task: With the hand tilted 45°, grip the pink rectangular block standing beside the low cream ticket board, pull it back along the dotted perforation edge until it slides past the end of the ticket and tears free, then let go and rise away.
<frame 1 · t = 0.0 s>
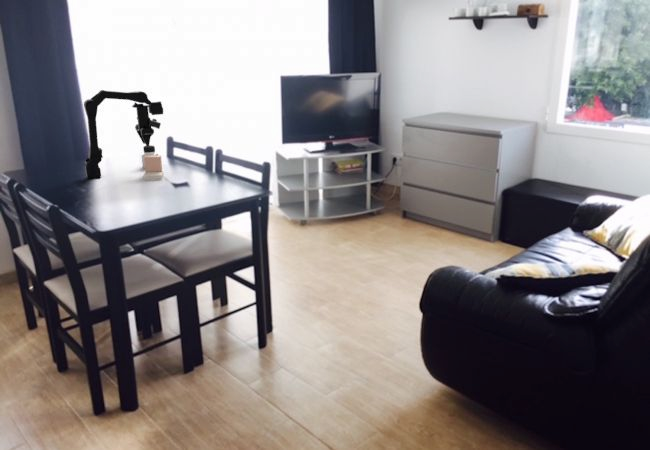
hand: (146, 144, 302), 15 cm above the table, tool pointing down, fingers open, 9 cm apart
ticket board: (153, 178, 292), on the table
pink rectangular block: (153, 165, 296), point 5 cm above the table, slide at 0.0 cm
medicine bottle: (151, 167, 318), on the table
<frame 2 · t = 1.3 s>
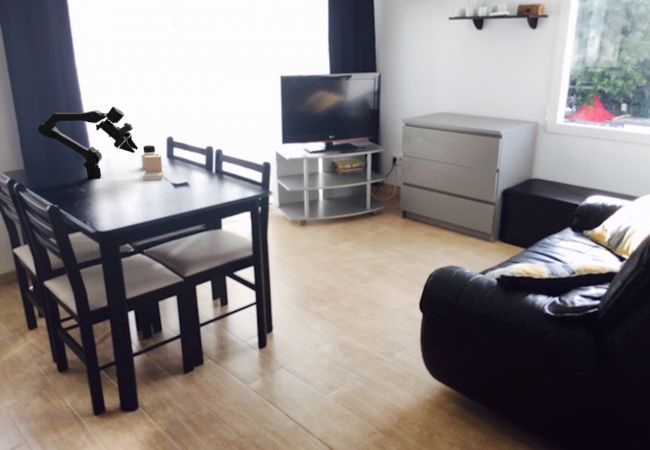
hand: (136, 150, 292), 14 cm above the table, tool tilted 45°, fingers open, 9 cm apart
nothing on the table moved.
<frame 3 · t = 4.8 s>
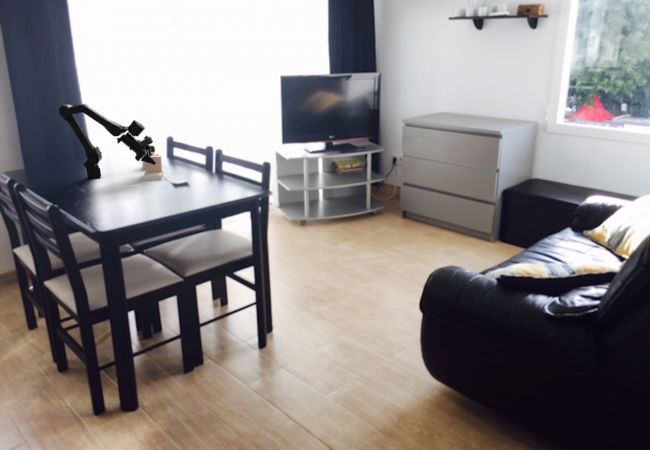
hand: (156, 163, 296), 7 cm above the table, tool tilted 45°, fingers closed on pink rectangular block, 4 cm apart
pink rectangular block: (153, 165, 296), point 5 cm above the table, slide at 0.0 cm, touching gripper
everything else where it was.
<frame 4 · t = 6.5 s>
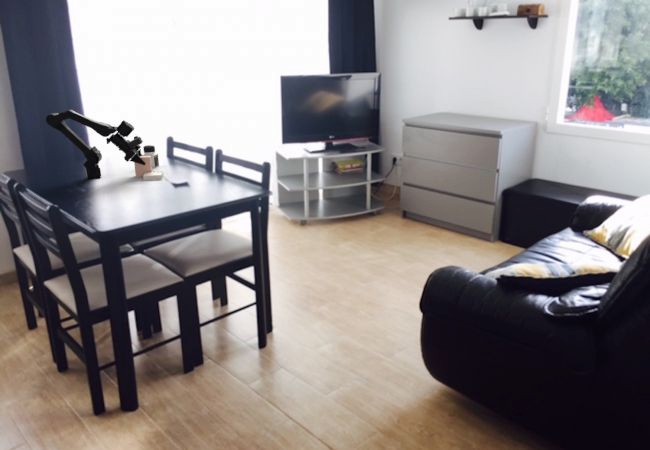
hand: (145, 163, 295), 7 cm above the table, tool tilted 45°, fingers closed on pink rectangular block, 4 cm apart
pink rectangular block: (143, 166, 295), point 5 cm above the table, slide at 5.2 cm, touching gripper
everything else where it was.
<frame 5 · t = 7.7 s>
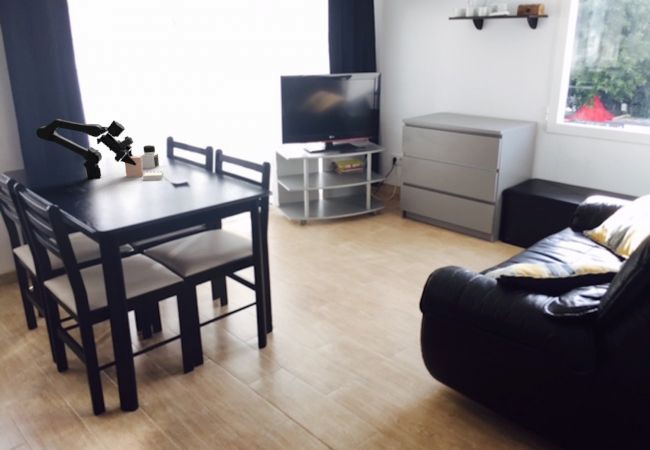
hand: (136, 163, 294), 7 cm above the table, tool tilted 45°, fingers closed on pink rectangular block, 4 cm apart
pink rectangular block: (134, 166, 295), point 5 cm above the table, slide at 10.0 cm, touching gripper
everything else where it was.
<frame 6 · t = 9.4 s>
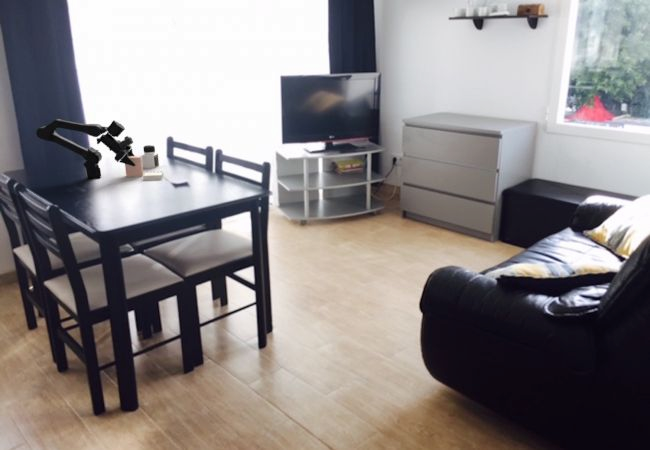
hand: (136, 163, 294), 7 cm above the table, tool tilted 45°, fingers open, 9 cm apart
pink rectangular block: (133, 166, 295), point 5 cm above the table, slide at 10.0 cm
everything else where it was.
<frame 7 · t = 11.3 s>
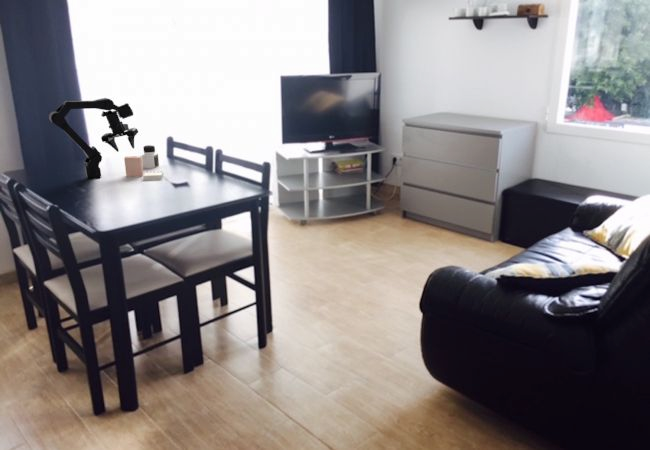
hand: (125, 149, 299), 13 cm above the table, tool tilted 15°, fingers open, 9 cm apart
nothing on the table moved.
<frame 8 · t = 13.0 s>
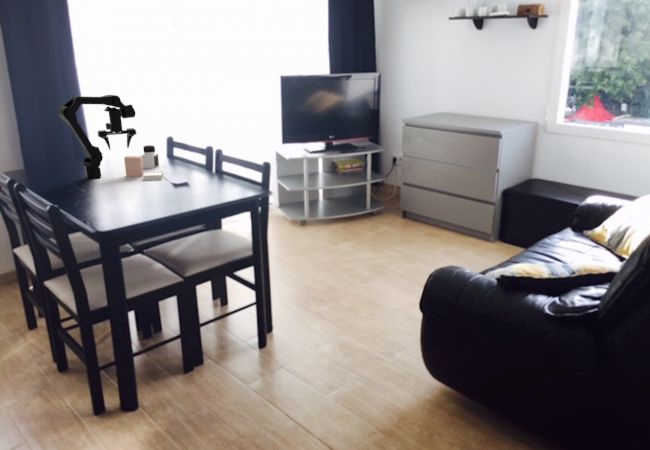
hand: (119, 148, 300), 13 cm above the table, tool pointing down, fingers open, 9 cm apart
nothing on the table moved.
at the end: pink rectangular block slide at 10.0 cm; the gripper is holding nothing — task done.
